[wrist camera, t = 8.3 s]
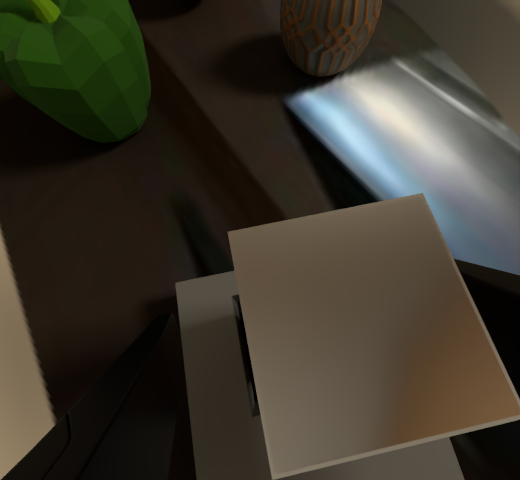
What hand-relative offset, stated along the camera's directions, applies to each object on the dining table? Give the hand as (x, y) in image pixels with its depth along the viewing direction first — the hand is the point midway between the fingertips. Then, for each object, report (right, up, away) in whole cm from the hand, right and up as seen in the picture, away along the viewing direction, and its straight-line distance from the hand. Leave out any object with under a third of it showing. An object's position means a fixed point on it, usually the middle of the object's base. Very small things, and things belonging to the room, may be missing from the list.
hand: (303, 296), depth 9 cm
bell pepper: (-13, +12, +14) cm, 22 cm away
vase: (+4, +17, +15) cm, 23 cm away
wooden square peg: (0, -4, +8) cm, 9 cm away
